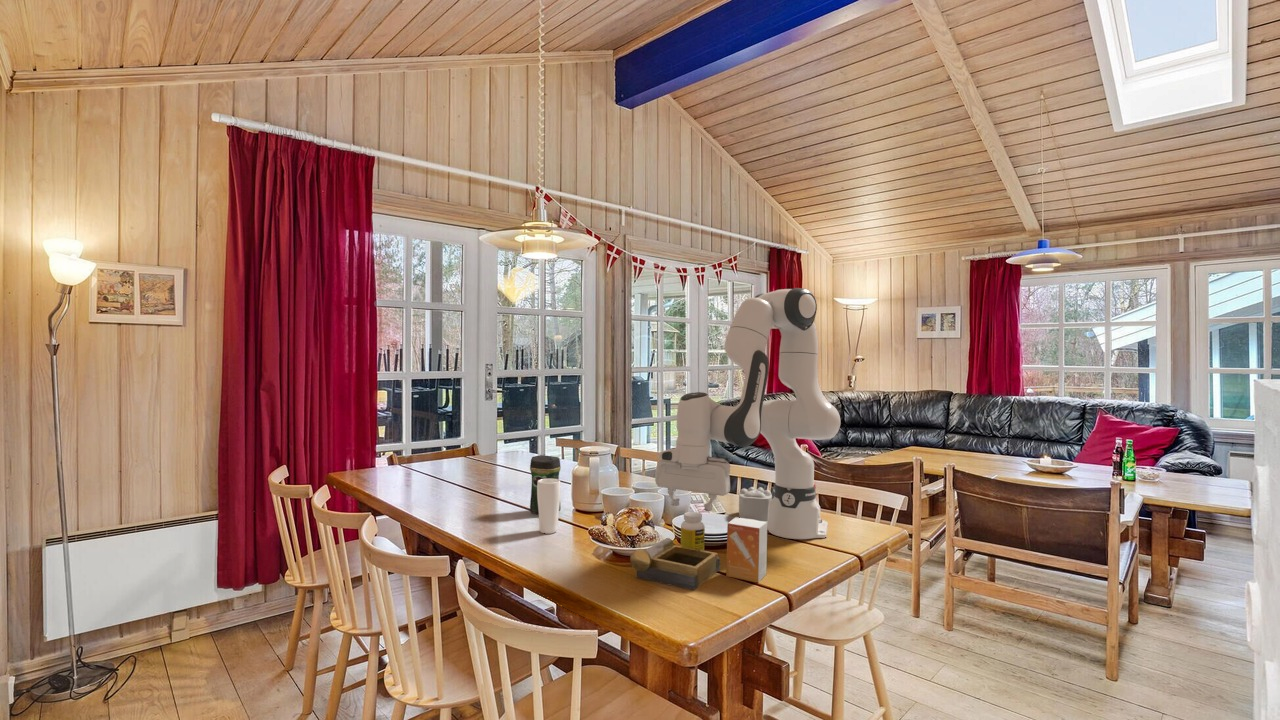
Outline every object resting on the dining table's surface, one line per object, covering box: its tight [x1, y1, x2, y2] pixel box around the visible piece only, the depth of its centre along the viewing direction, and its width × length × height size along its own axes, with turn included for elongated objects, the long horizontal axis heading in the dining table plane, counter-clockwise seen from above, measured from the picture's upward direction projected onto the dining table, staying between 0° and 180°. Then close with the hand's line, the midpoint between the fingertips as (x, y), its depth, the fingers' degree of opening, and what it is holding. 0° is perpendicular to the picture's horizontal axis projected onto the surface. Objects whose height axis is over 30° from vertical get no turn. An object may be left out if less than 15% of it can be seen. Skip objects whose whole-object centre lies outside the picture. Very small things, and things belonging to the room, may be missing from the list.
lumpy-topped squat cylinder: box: [738, 486, 773, 522], centre depth 201 cm, size 10×13×9 cm
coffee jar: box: [529, 454, 562, 515], centre depth 202 cm, size 10×8×19 cm
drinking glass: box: [537, 478, 562, 535], centre depth 182 cm, size 7×7×15 cm
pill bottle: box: [680, 511, 706, 551], centre depth 162 cm, size 6×6×11 cm
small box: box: [725, 516, 768, 583], centre depth 148 cm, size 8×6×13 cm
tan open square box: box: [629, 537, 721, 591], centre depth 149 cm, size 16×16×7 cm
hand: (691, 508), depth 161 cm, fingers open, 8 cm apart
